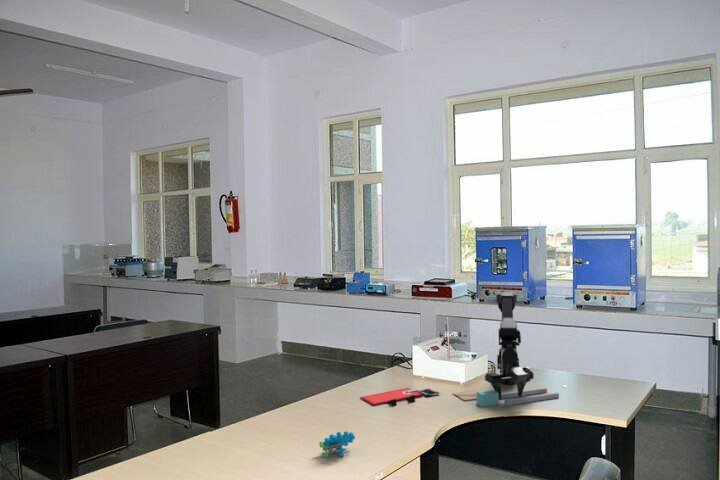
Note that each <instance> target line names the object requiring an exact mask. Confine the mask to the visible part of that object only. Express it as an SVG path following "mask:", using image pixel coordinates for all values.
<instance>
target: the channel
mask: <svg viewBox="0 0 720 480" xmlns="http://www.w3.org/2000/svg"><path fill="white" fill-rule="evenodd" d="M559 397H560V393H559V392H556V391H555V392H548V388H547V387H539V388H533V389H523V392H522V395H521V397H519V396H518V391H509V392H504V393H503V392H501V400H504V405H505V406H512V405H518V404H525V403H532V402H538V401H539V402H541V401H545V400H546V401H547V400H554V399H560V398H559ZM498 401H500V400H499V399H498Z"/></svg>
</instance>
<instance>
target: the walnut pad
mask: <svg viewBox="0 0 720 480" xmlns="http://www.w3.org/2000/svg"><path fill="white" fill-rule="evenodd" d="M477 392H478V391H476V390H475V389H474V390H472V389H471V390H465V391H457V392H452V395H453V396H455V397H456V398H458V399H460V400H462V401H464V402H472V401H477Z"/></svg>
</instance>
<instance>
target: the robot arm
mask: <svg viewBox="0 0 720 480" xmlns="http://www.w3.org/2000/svg"><path fill="white" fill-rule="evenodd" d="M495 296H496V297H495V298H496V299H495V300H496V301H495V302H496V304H497V308H498V309H499V311H500V312H501V322H500V324H499V328H498V345H499V346H500V348H499V350H498V354H497V355H496V358H497V359H496V365H497V367H496V368H497V370H499V373H496V372H487V373H486V374H485V375H484V381H485V382H488V383H489V384H491V386H492V388H493V390H494V391H496V392H498V399H499V400H498V401H500V400H502V399H501V393H502V386H503V385H505V386H507V385H514V384H516V390H517V391H518V396H519V397H518V398H520V397H522V396H521V395H522V392H523V391H524V390H525V389H524V388H525V386H526V385H527V383H529V382H531V380H534V378H535V377H534V375H535V374H534V372H533V371H532V370H531V369H530V367H528V366H526V367H525V366H524V367H520V358H519V355H518V351H517V346H520V345H521V343H522V336H521V331H520V329H519V328H518V326H517V322H516V321H514V313H513V312H514V310H515V308H516V304H517V303H518V302H517V301H518V300H517V299H518V298H517V294H514V292H513V291H499V292H498V294H496V295H495Z"/></svg>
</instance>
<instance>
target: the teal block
mask: <svg viewBox="0 0 720 480" xmlns="http://www.w3.org/2000/svg"><path fill="white" fill-rule="evenodd" d="M476 404H477V405H478V406H481V407H488V406H496V405H499V400H498V392H496V391H495V390H494V389H490V390H489V389H488V390H483V391H482V390H480V391H477V400H476Z"/></svg>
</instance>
